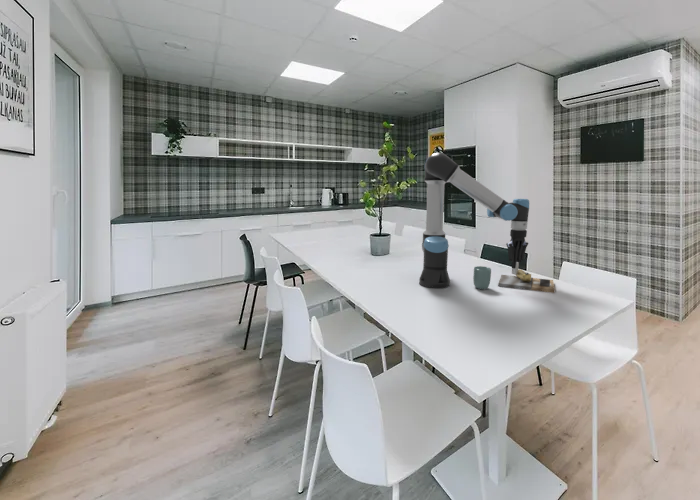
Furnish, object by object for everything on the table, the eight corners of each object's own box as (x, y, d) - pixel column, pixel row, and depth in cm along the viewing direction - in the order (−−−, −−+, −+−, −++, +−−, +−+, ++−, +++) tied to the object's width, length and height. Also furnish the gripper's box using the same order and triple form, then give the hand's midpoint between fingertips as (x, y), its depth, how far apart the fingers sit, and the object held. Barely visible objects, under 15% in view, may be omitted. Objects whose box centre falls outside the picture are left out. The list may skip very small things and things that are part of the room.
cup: (491, 291, 164) (492, 270, 162) (473, 290, 166) (475, 269, 164) (488, 286, 172) (489, 266, 170) (471, 285, 173) (472, 265, 171)
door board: (498, 286, 171) (498, 277, 171) (501, 277, 187) (502, 269, 186) (554, 292, 160) (555, 283, 160) (552, 283, 176) (553, 274, 175)
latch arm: (531, 282, 170) (532, 274, 170) (523, 282, 171) (524, 274, 170) (522, 274, 184) (522, 267, 183) (514, 274, 184) (514, 267, 184)
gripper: (515, 230, 172) (511, 277, 176) (534, 229, 176) (529, 274, 181) (503, 229, 178) (499, 273, 183) (522, 227, 183) (518, 271, 187)
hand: (514, 274), depth 182 cm, fingers closed
